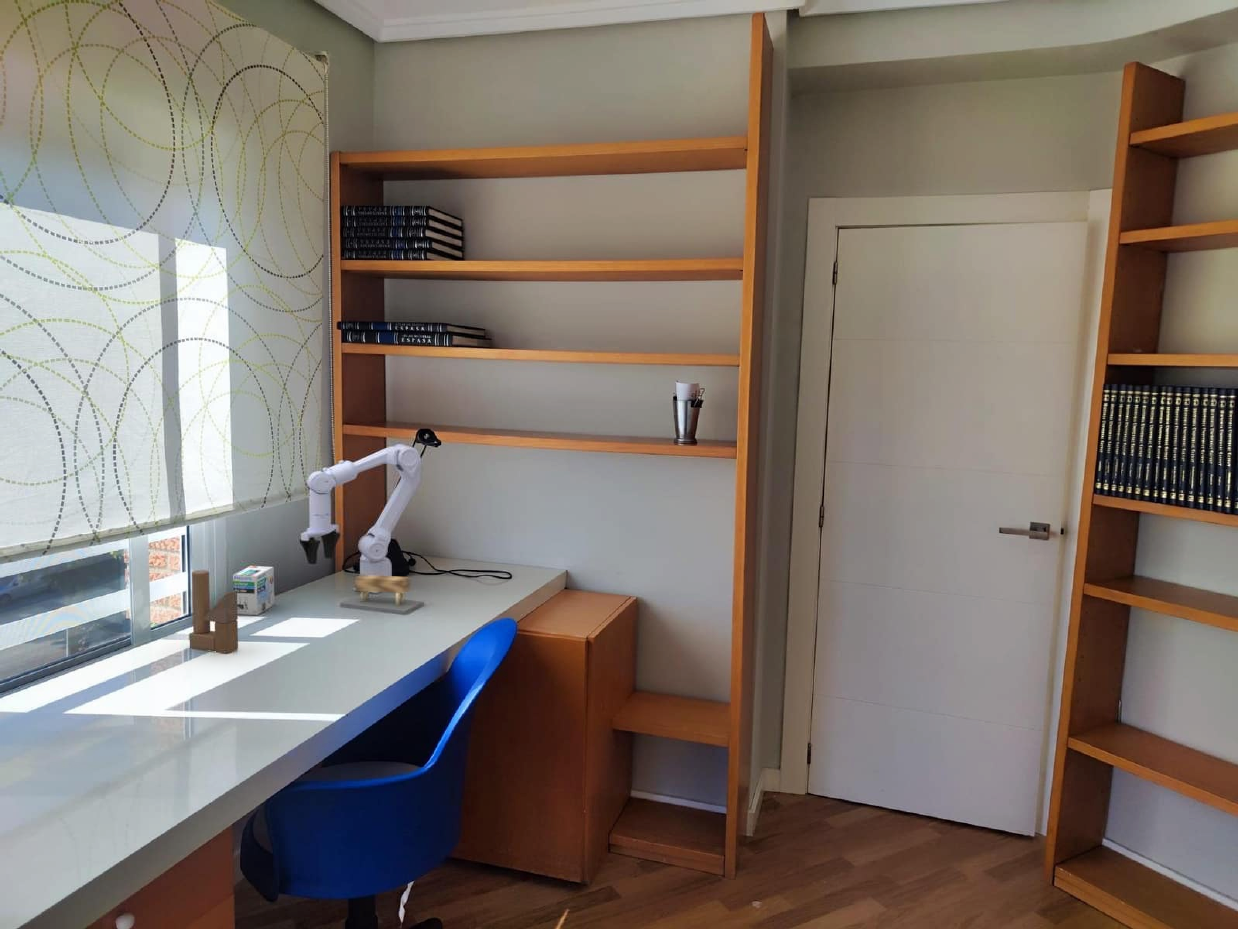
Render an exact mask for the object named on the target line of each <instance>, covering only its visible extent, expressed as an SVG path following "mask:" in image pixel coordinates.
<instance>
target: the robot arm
mask: <svg viewBox="0 0 1238 929" xmlns="http://www.w3.org/2000/svg"><path fill="white" fill-rule="evenodd" d="M418 451H419V450H417V448H415V447H413V446H407V445H405V444H403V443H399V444H395V445H393V446H392V445H391V446H388V447H386V448H383V449H381V450H378V451H377V452H376V451H375V453H372V454H370V455H367V456H366V457H362V458H361V459H359V460H356V461H354V462H352V461H350V460H343V459H342V460H338V463H337V464H335V465H333V466H330V467H323V468H322V471H320V470H319V471H317V470H316V471H314V472H312V473H310V475H309V476H308V477H307V478H308V479H307V481H306V484H307V487H308V488H309V500H308V501H309V506H308V508H309V511H308V512H309V514H308V515H309V527H307V528H306V530H305V531H304V532H302V533H300V538H299V544H300V545H301V547H302V549H303V550H304V553H305V556H306V559H307V562H308V565H309V564H310V565H316V564H317V561H318V550H319V546H320V544H321V541H322V545H323V553H324V554H323V555H324V558H325V559H333V557H334V553H335V550H336V546H337V544H338V541H339V539H340V538H341V533H340V532H339V525H338V524H332V523H331V522H332V517H331V516H332V515H331V514H332V511H331V510H332V509H331V503H332V502H331V491H332V489H333V488H336V487H339V486H341V485H343V484H346V483H348V482H350V481H351V482H352V481H353V480H355V479H356V478H357V476H358V474H359V473H362V472H364V471H366V470H370V469H374V468H375V467H378V466H381V465H384V464H385V465H386V464H387V465H393V466H395V468H396V469H397V471H398V473H399V476H400V479H399V481H398V483H397V485H396V487H395V489H394V490H393V492H392V494H391V496H390V497H389V499H388V500H387V503H386V505H385V507H384V508H383V510H382V512H381V513H380V516H379V517H378V519H377V520H376V522H375V523H374V525H373V526H371V528H370V529H369V530H368V531H367V533H366V534H365V535H363V536H361V537H360V539H359V541H358V544H357V546H358V550H359V551H360V553H361V556H360V558H359V575H361V574H363V575H380V576H392V574H393V572H392V571H393V570H392V562H391V560H390V559H389V558H388V557H386V556H387V555H388V548H389V544H390V543H391V537H392V536H391V534H392V532H393V531H394V528H395V526H396V524H397V523H398V521H399V519H400V518H401V516H402V514H403V512H404V510H405V509H406V507H407V505H408V503H409V501H410V500H411V498H412V496H413V494H414V493H415V490H416V489H417V487H418V485H419V484H420V481H421V464H422V458H421V456H420V453H419V452H418ZM318 537H320V538H321V540H318V539H317V540H316V538H318ZM353 590H354V591H357V592H359V591H358V590H355V587H354V588H353ZM364 593H366V591H364ZM369 593H373V594H378V593H379V592H374V591H369Z"/></svg>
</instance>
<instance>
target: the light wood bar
mask: <svg viewBox="0 0 1238 929" xmlns="http://www.w3.org/2000/svg"><path fill="white" fill-rule="evenodd" d="M410 579H411V577H410V576H409V577H407V576H394V575H393V576H380V575H363V574H361V575H360V574H359V575H358V576H356V577H354V588H355V590H354V591H356V590H358V591H357V592H361V591H374V592H378V593H392V594H393V593H394V594H396V593H404V594H406V593H407V592H408V591H410V588H411V584H410V583H411V580H410Z"/></svg>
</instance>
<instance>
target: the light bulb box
mask: <svg viewBox="0 0 1238 929" xmlns="http://www.w3.org/2000/svg"><path fill="white" fill-rule="evenodd" d="M274 572H275V567H274V566H260V565H249V566H248V567H246V568H243V569H242V570H240V571H239V572H236V573H234V574H232V589H233V590H232V591H235V590H237V614H238V615H243V616H244V615H247V616H248V615H249V616H259V615H260V614H262V613H264V612H265V611H267V610H268V609H270V608H272V607H273V606H275V573H274Z"/></svg>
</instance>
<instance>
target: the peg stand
mask: <svg viewBox="0 0 1238 929" xmlns="http://www.w3.org/2000/svg"><path fill="white" fill-rule="evenodd" d="M422 605H423V606H424V605H425V602H424V601H422V600H413V599H412V600H411V599H406V598H405V593H395V597H389V596H380V595H375V594H373V595H372V594H370V592H369V591H366V592H364V591H360V594H358V595H356V596H354V597H351V598H348V599H346V600H343V601H342V602H340V604H339V606H341V608H350V609H355V610H356V609H357V610H363V609H364V610H365V611H371V610H372V611H374V612H380V613H386V614H387V613H390V614H394V613H396V614H395V615H402V614H403V615H404V616H406V615H407V613H408V614H410V613H411V612H413V611H415V610H417V609H419V608H421V607H423V606H422ZM420 606H421V607H420ZM403 615H402V616H403Z"/></svg>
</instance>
